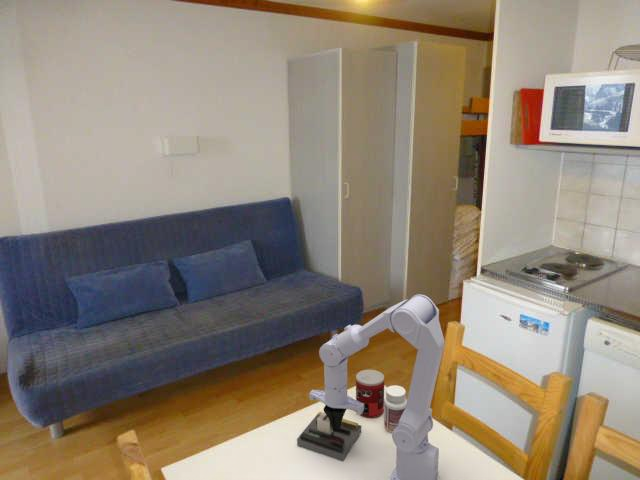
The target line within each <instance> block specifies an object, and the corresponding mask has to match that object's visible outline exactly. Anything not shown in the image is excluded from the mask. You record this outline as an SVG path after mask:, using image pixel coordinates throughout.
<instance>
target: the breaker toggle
mask: <svg viewBox="0 0 640 480" xmlns="http://www.w3.org/2000/svg"><path fill="white" fill-rule="evenodd" d="M324 413H325V412H322V413H321V415H320V416H319V417H318V418H317V431H320V432H323V433H327V434H330V435H331V434H332V432H333V429H332V426H331V423H330V420H329V418H328V416H327V415H326V414H324Z"/></svg>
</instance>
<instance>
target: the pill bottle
mask: <svg viewBox="0 0 640 480" xmlns="http://www.w3.org/2000/svg"><path fill="white" fill-rule="evenodd" d="M385 391H386V392H385V397H384V410H383V423H384V424H383V426H384V429H385V430H386V431H388V432H389V433H391V434H392V432H393V430H394V429H395V428H396V427H397V426H398V424H399V420H400V418H401V416H402V414H403V412H404V410H405V408H406V403H407V397H406V396H407V395H406V393H407V391H406V389H405V388H404V387H403V386H401V385H389V386H388V387H387V388H386V389H385Z"/></svg>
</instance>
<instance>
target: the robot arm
mask: <svg viewBox="0 0 640 480" xmlns="http://www.w3.org/2000/svg"><path fill="white" fill-rule="evenodd" d="M439 318H440V309H439V308H438V307H437V306H436V304H435V303H434V301H433V300H432V299H431V298H430V297H428V296H427V295H424V294H415V295H413V296H411V298H410V299H409V298H408V299H405V300H402V301H401V302H398V303H396V304H395V305H392V306H390V307H389V308H387V309H386V310H384V311H382V312H381V313H380V314H378V315H377V316H375V317H374V318H373V319H370V321H368V322H367V323H365V324H364V325H361V324H353V325H351V324H348V325H347V326H345V327H344V328H343V329H344V330H343V331H342V332H341V333H339V334H338V333H336V334H334V335H333V336H331V339H330V340H329V341H327V342H326V343H323V344H322V346H320V348H319V350H318V355H319V358H320V360H321V362H322V363H323V364H324V365H323V373H324V374H323V376H324V390H318V389H311V391H310V392H309V394H308V395H309V400H310V401H314V400H315V401H320V403H322V404H324V405H325V406H324V407H323V413H326V415H327V416H328V418H329V420H330V423H331V426H332V429H333V431H335V432H338V430H339V429H340V427H341V422H342V419H344V416H345V414H346V412H347V410H350V411H354V412H356V413H357V414H358V415H360V414H362V412H363V411H364V404H363V403H360V402H358V401H356V398H354V397H352V396H349V394H348V361H349V357H350V356H352V355H354V354H355V353H357V352H359V351H362V350H363V349H364V348H366V347H367V346H368V345H369V342H370V338H372V337H374V336H376V335H378V334H380V333H381V332H383V331H385V330H386V329H388V330H389V331H390V332H391V333H395V332H396V333H397V334H399V335H400V336H401V337H402V338H403V339H404V340H405V341H407V343H409V344H410V345H411V346H413V347H414V348H415V349H416V350H417V352H416V358H415V362H414V367H413V371H412V376H411V381H410V386H409V388H408V389H409V390H408V394H407V397H406V399H407V403H406V408H405V410H404V412H403V414H402V416H401V418H400V420H399V424H398V426H397V427H396V428H395V429H394V430H393V432H392V433H391V439H392V442H393V443H394V445H395V447H396V463H395V465H396V466H395V467H394V470H393V471H392V473H391V476H390V478H389V479H390V480H436V479H437V477H438V473H439V458H440V457H439V456H440V450H439V448H438V447H436V446H434V445H433V444H431V443H430V442H429V433H430V432H431V430H432V429H433V428H434V419H433V416H432V415H433V414H432V413H433V409H432V408H431V403H432V399H433V396H434V391H435V388H436V387H435V386H436V383H437V382H436V381H437V378H438V376H439V375H438V374H439V370H440V366H441V363H442V362H441V361H442V358H443V354H444V348H445V346H446V345H445V343H446V340H445V338H444V334H443V330H442V326H441V324H440V319H439Z"/></svg>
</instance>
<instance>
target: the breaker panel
mask: <svg viewBox="0 0 640 480" xmlns="http://www.w3.org/2000/svg"><path fill="white" fill-rule="evenodd" d="M321 413H324V414H326V413H325V412H323V411H318V412H317V414H316V415H315V416H314V417H313V419H312V420H311V421H310V423H309V424H308V425H307V426H306V427H305V429H303V431H302V432H301V434H300V435H299V436H298V437H297V438H296V445H297V446H298V447H300V448H303V449H306V450H309V451H312V452H315V453H317V454H322V455H323V456H327V457H330V458H333V459H335V460H338V461H341V462H343V461H344V460H345V459H346V457H347V455H348V454H349V453H350V451H351V449H352V448H353V446H354V445H355V443H356V441H357V440H358V438H359V437H360V435H361V433H362V425H360V424H359V423H358V422H355V421H352V420H349V419H346V418H343V419H342V422H341V427H340V429H339V430H338V432H335V431H333V432H332V434H331V435H330V434H327V433H323V432H320V431H317V418H318V417H319V416H320V415H321Z"/></svg>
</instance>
